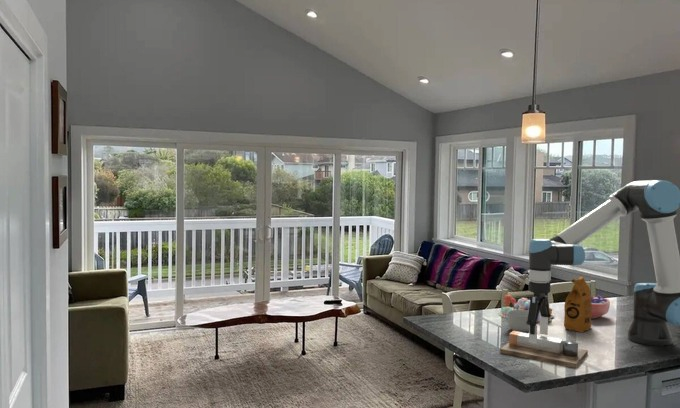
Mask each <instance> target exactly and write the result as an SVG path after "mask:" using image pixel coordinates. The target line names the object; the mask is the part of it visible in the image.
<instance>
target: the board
mask: <svg viewBox="0 0 680 408" xmlns="http://www.w3.org/2000/svg"><path fill="white" fill-rule="evenodd" d="M588 351H589V350H588V349H584V348H578V356H576V357H570V356H565V355H563V354H562V352H561V353H560V354H558V353H553V352H547V351H542V350H537V349H532V348H527V347H521V346H515V345H510V344H509V342H507V343H506V344H504V345H503V346H502V347H501V348H500V351H499V354H506V355H509V356H515V357H519V358H524V359H529V360H534V361H539V362H545V363H549V364H553V365H554V364H555V365H559V366H564V367H567V368H568V367H569V368H574V369H577V368H578V367H579V365H581V363H582V361H584V360H585V358H586V357H587V356H588Z"/></svg>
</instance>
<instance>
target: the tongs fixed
mask: <svg viewBox="0 0 680 408" xmlns="http://www.w3.org/2000/svg"><path fill="white" fill-rule="evenodd" d="M511 332H512V333H518V334H523V335H528V336H529V332H526V333H522V332H517V331H513V330H512V331H511ZM537 337H539V338H545V339H551V340H556V341H561V352H562V354H563V355H565V356H570V357H576V356H578V349H579V342H576V341H573V340H564V339H560V338H555V337H549V336H546V335H545V336H543V335H540V334H539V335H538V334H537Z"/></svg>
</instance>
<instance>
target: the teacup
mask: <svg viewBox="0 0 680 408" xmlns="http://www.w3.org/2000/svg"><path fill="white" fill-rule="evenodd" d="M528 313H529V311H527V310H517V309H513V310H511V311H508V312H507V315H508V318H507V325H508V327H509V329H510V330H512V331H517V332H522V333H529V325H528V324H526V322H527V319H528Z"/></svg>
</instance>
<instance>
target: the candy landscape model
mask: <svg viewBox="0 0 680 408" xmlns="http://www.w3.org/2000/svg"><path fill="white" fill-rule="evenodd" d="M503 300H504V304H505V305H504V306H501V309H500V310H499V311H498V316H499V317H501V318H504V319H508V315H507V312H508V311H511V310H513V309H517V310H527V311H529V307H530V299H528V298H527V297H521V298H519V299H518V300H516V298H514V297H513V296H512V295H510V294H506V295H504V297H503ZM510 304H512V306H513V307H511V306H510ZM549 310H550V317H548V322H552V321H553V319H552V318H554V317H555V316H554V315H553V308H551V307H549ZM540 316H541V314H540V311H539V315H538V320H537V323H540ZM541 317H542V316H541Z"/></svg>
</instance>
